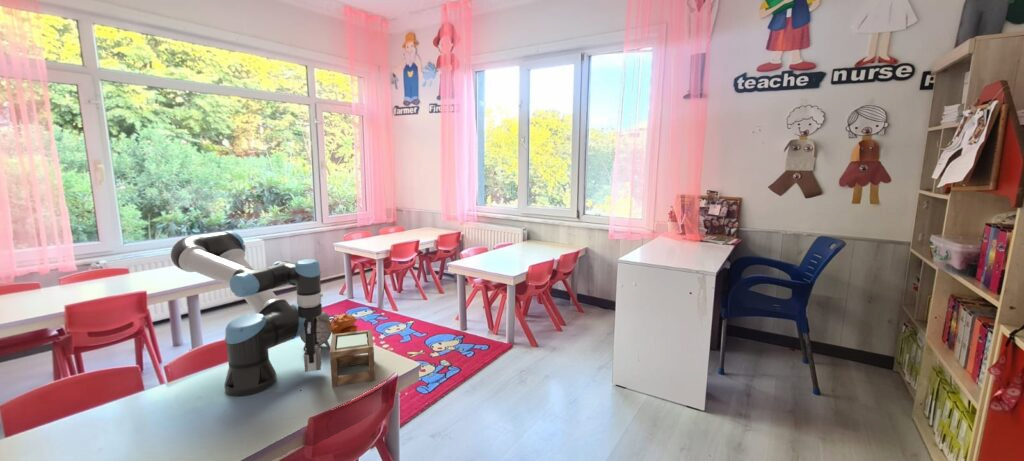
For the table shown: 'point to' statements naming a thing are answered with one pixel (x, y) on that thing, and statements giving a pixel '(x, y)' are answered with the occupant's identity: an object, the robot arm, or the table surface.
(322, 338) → the alarm clock
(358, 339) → the hatch
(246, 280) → the robot arm
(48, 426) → the table surface
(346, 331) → the orange sculpture
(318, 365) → the grey block
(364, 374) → the frame
